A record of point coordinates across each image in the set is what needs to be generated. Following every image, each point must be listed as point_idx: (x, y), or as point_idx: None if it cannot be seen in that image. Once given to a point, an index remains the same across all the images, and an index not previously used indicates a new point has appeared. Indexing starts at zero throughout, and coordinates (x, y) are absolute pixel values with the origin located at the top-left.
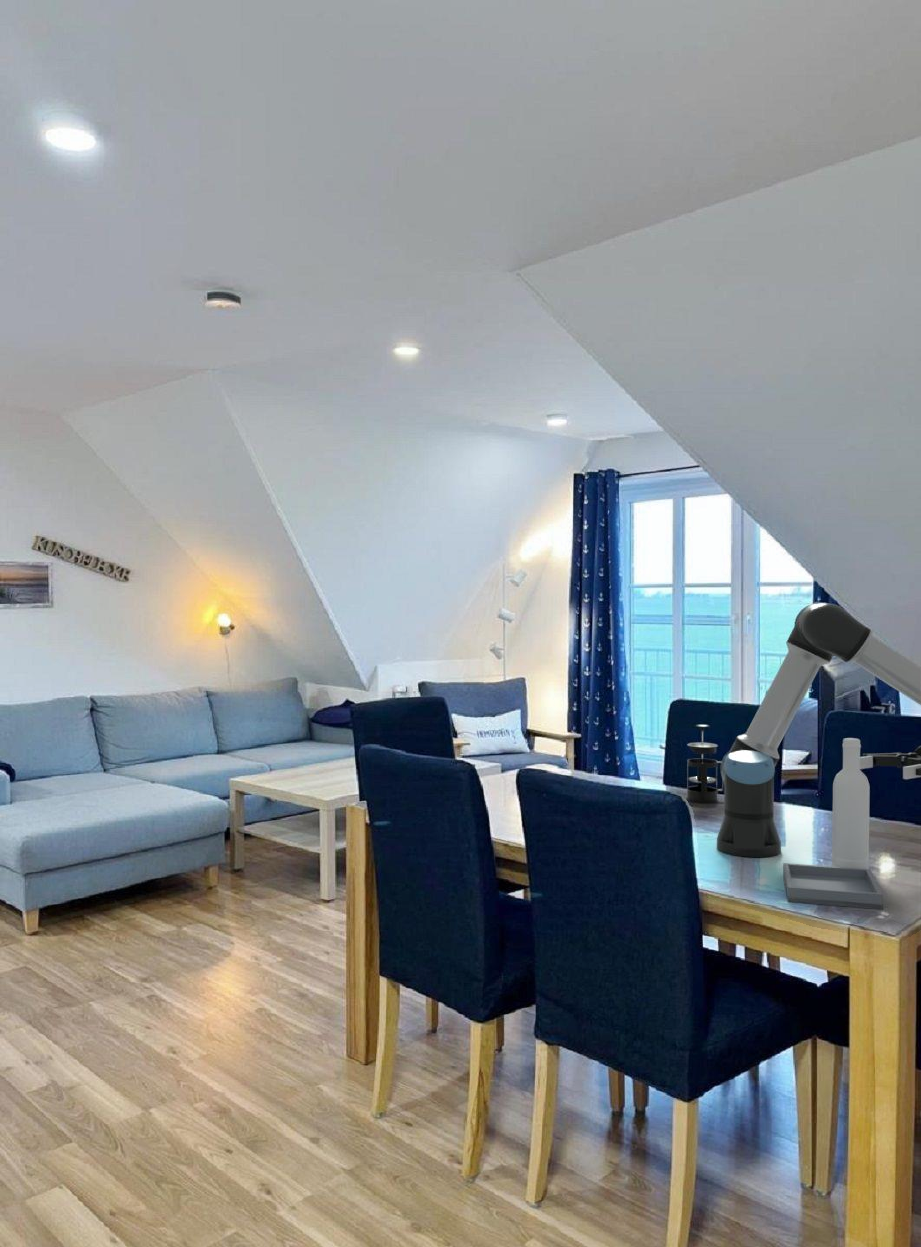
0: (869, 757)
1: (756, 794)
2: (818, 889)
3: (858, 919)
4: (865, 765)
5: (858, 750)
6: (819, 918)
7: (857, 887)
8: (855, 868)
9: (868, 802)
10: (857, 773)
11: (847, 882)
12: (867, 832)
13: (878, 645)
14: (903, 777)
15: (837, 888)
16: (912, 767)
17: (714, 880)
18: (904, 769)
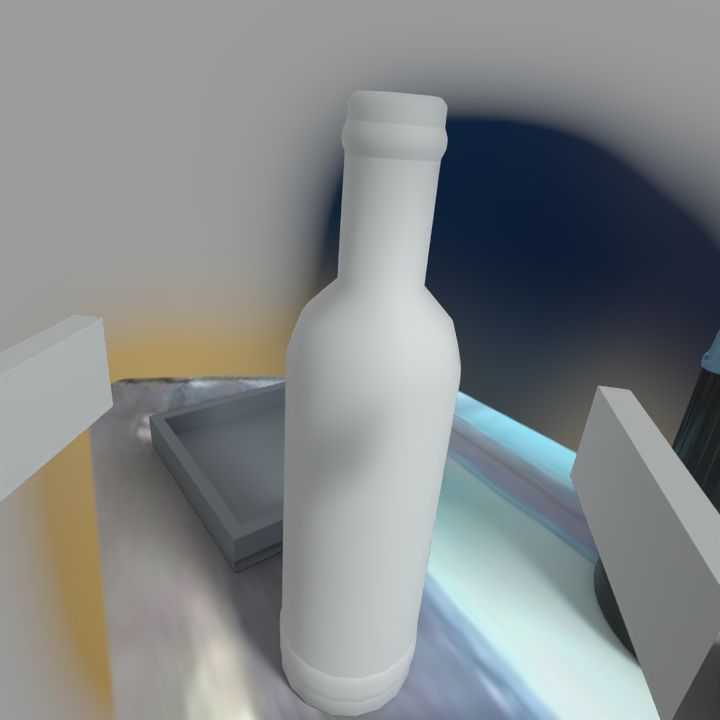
0: (690, 553)
1: (690, 399)
2: (269, 386)
3: (182, 397)
4: (623, 565)
5: (345, 159)
6: (238, 377)
7: (234, 483)
8: (272, 519)
9: (285, 427)
10: (332, 282)
11: (270, 497)
12: (283, 532)
13: None
14: (108, 394)
15: (269, 457)
16: (14, 355)
17: (477, 409)
18: (91, 334)
